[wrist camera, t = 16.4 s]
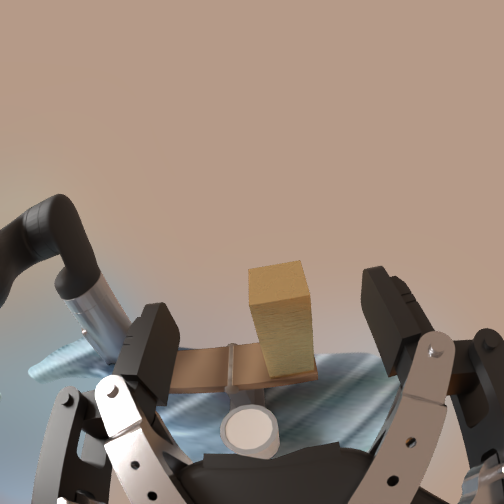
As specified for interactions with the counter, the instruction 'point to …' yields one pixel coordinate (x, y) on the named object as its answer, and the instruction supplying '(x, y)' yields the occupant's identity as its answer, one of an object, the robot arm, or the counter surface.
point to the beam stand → (247, 398)
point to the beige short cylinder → (251, 431)
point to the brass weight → (282, 318)
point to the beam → (227, 370)
